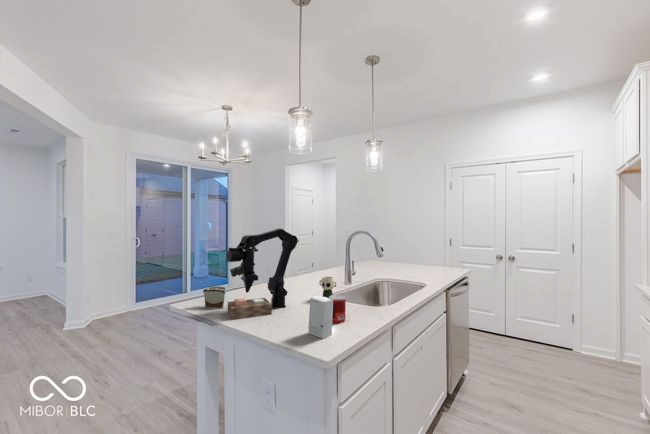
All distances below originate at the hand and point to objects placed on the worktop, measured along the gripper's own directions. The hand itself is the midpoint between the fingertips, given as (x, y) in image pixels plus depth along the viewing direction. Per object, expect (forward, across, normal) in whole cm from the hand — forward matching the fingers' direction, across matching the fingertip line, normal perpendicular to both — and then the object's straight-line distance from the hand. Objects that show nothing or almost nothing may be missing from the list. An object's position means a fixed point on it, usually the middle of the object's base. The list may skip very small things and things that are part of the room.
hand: (247, 292), depth 148 cm
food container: (+11, -20, -12) cm, 25 cm away
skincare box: (+10, +40, +22) cm, 47 cm away
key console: (+10, 0, +2) cm, 11 cm away
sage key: (+8, 0, +6) cm, 10 cm away
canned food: (+10, +28, +36) cm, 47 cm away
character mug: (+10, -6, +48) cm, 49 cm away
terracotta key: (+7, 0, -3) cm, 8 cm away
